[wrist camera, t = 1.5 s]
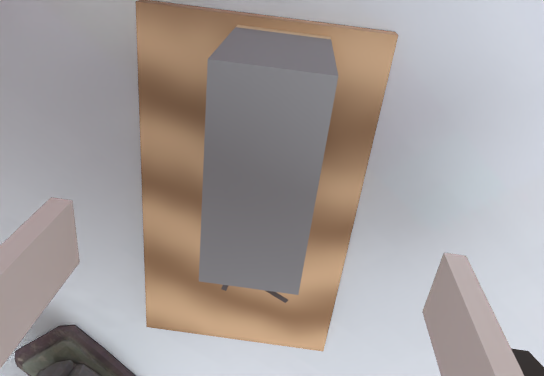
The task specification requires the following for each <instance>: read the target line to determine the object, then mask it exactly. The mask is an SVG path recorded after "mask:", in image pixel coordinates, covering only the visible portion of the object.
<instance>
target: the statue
mask: <svg viewBox="0 0 544 376" xmlns="http://www.w3.org/2000/svg"><path fill="white" fill-rule="evenodd" d="M15 362H16V364H17V367H19V368H20V369H21V370H23V371H24V372H25V373H27V374H28V375H29V376H135V375H134V374H133V373H132V372H130V371H129V370H128V369H127V368H126V367H125V366H124V365H122V364H121V363H120V362H119V361H118V360H117V359H116V358H114V357H113V356H112V355H111V354H110V353H109V352H108V351H107V350H105V349H104V348H103V347H102V346H100V345H99V344H98V343H97V342H95V341H94V340H93V339H91V338H90V337H89V336H88V335H86V334H85V333H84V332H83V331H81V330H80V329H79V328H77V327H76V326H75V325H71V326H59V327H57V328H55V329H53V330H52V331H50V332H48V333H46V334H45V335H43V336H41V337H39V338H38V339H36V340H34V341H32V342H31V343H29V344H27V345H25V346H24V347H22V348H20V349H18V350H17V351H15Z"/></svg>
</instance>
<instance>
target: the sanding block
mask: <svg viewBox="0 0 544 376" xmlns="http://www.w3.org/2000/svg"><path fill="white" fill-rule="evenodd" d="M337 81H338V71H337V66H336V61H335V56H334V51H333V46H332V41H331V37H330V36H322V35H314V34H307V33H299V32H291V31H283V30H276V29H268V28H260V27H252V26H245V25H237V26H236V27H235V28H234V29H233V30H232V32H231V33H230V34H229V35H228V36H227V37H226V39H225V40H224V41H223V42H222V43H221V44H220V45H219V47H218V48H217V49H216V50H215V51H214V52H213V53H212V55H211V56H210V57H209V58H208V65H207V89H206V114H205V138H204V163H203V187H202V212H201V237H200V261H199V281H200V282H207V283H214V284H221V285H229V286H236V287H243V288H251V289H258V290H265V291H273V292H280V293H287V294H295V295H298V294H299V289H300V283H301V278H302V272H303V267H304V261H305V256H306V251H307V245H308V240H309V234H310V229H311V223H312V218H313V212H314V207H315V201H316V196H317V190H318V185H319V180H320V174H321V169H322V163H323V158H324V152H325V147H326V141H327V136H328V130H329V125H330V120H331V114H332V109H333V103H334V98H335V92H336V87H337Z"/></svg>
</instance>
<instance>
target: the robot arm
mask: <svg viewBox="0 0 544 376" xmlns="http://www.w3.org/2000/svg"><path fill="white" fill-rule="evenodd" d="M78 264H79V253H78V245H77V236H76V227H75V219H74V210H73V201H72V200H67V199H59V198H52V197H51V198H50V199H49V200H48V201H47V202H46V203H45V204H44V205H42V206H41V207H40V208H39V209H38V210H37V211H36V212H35V213H34V214H33V215H32V216H31V217H30V218H29V219H28V220H27V221H26V222H25V223H24V224H22V225H21V226H20V227H19V228H18V229H17V230H16V231H15V232H14V233H13V234H12V235H11V236H10V237H9V238H8V239H7V240H6V241H5V242H4V243H2V244H1V245H0V368H1V367H2V366H3V364H4V363H5V362H6V360H7V359H8V358H9V356H10V355H11V354H12V352H13V351H14V350H15V348H16V347H17V345H18V344H19V343H20V341H21V340H22V339H23V337H24V336H25V335H26V333H27V332H28V331H29V329H30V328H31V327H32V325H33V324H34V323H35V321H36V320H37V319H38V317H39V316H40V315H41V313H42V312H43V311H44V309H45V308H46V307H47V305H48V304H49V303H50V301H51V300H52V299H53V297H54V296H55V295H56V293H57V292H58V291H59V289H60V288H61V287H62V285H63V284H64V283H65V281H66V280H67V279H68V277H69V276H70V274H71V273H72V272H73V270H74V269H75V268H76V266H77V265H78ZM423 315H424V319H425V322H426V325H427V329H428V332H429V336H430V339H431V343H432V346H433V349H434V353H435V356H436V360H437V363H438V367H439V370H440V373H441V376H544V367H543V366H542V365H541V364H540V363H539V362H538V361H537V360H536V359H535V358H534V357H533V355H532V354H531V353H530V352H529V351H524V350H517V349H511V347H510V345H509V343H508V341H507V339H506V337H505V335H504V333H503V331H502V329H501V327H500V325H499V323H498V321H497V319H496V317H495V315H494V312H493V310H492V308H491V306H490V304H489V302H488V300H487V298H486V296H485V294H484V292H483V290H482V288H481V286H480V284H479V282H478V279H477V277H476V275H475V273H474V271H473V269H472V267H471V265H470V263H469V261H468V259H467V257H466V256H464V255H457V254H450V253H444V254H443V256H442V259H441V262H440V265H439V267H438V270H437V273H436V276H435V279H434V281H433V284H432V287H431V290H430V292H429V295H428V298H427V301H426V303H425V306H424V309H423Z"/></svg>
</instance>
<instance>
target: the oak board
mask: <svg viewBox="0 0 544 376" xmlns="http://www.w3.org/2000/svg"><path fill="white" fill-rule="evenodd" d="M237 25H245V26H252V27H260V28H268V29H276V30H283V31H291V32H299V33H307V34H314V35H322V36H330V37H331V41H332V46H333V51H334V56H335V61H336V66H337V71H338V81H337V87H336V92H335V98H334V103H333V109H332V114H331V120H330V125H329V130H328V136H327V141H326V147H325V152H324V158H323V163H322V169H321V174H320V180H319V185H318V190H317V196H316V201H315V207H314V212H313V218H312V223H311V229H310V234H309V240H308V245H307V251H306V256H305V261H304V267H303V272H302V278H301V283H300V289H299V294H298V295H295V294H287V293H280V292H273V291H265V290H258V289H251V288H243V287H236V286H229V285H221V284H214V283H207V282H200V281H199V261H200V237H201V212H202V187H203V163H204V138H205V114H206V89H207V65H208V58H209V57H210V56H211V55H212V53H213V52H214V51H215V50H216V49H217V48H218V47H219V45H220V44H221V43H222V42H223V41H224V40H225V39H226V37H227V36H228V35H229V34H230V33H231V32H232V30H233V29H234V28H235V27H236V26H237ZM136 26H137V55H138V85H139V114H140V144H141V174H142V203H143V233H144V262H145V292H146V321H147V327H151V328H159V329H166V330H173V331H180V332H187V333H195V334H202V335H209V336H216V337H224V338H231V339H238V340H245V341H253V342H260V343H267V344H274V345H281V346H289V347H296V348H303V349H310V350H318V351H323V350H324V346H325V341H326V337H327V333H328V329H329V325H330V320H331V316H332V312H333V308H334V304H335V299H336V295H337V291H338V287H339V283H340V278H341V274H342V270H343V266H344V261H345V257H346V253H347V249H348V245H349V240H350V236H351V232H352V228H353V224H354V219H355V215H356V211H357V207H358V202H359V198H360V194H361V190H362V186H363V181H364V177H365V173H366V169H367V165H368V160H369V156H370V152H371V148H372V144H373V139H374V135H375V131H376V127H377V122H378V118H379V114H380V110H381V106H382V101H383V97H384V93H385V89H386V85H387V80H388V76H389V72H390V68H391V63H392V59H393V55H394V51H395V47H396V42H397V38H398V35H397V33H396V32H391V31H384V30H376V29H368V28H360V27H353V26H345V25H337V24H329V23H322V22H314V21H306V20H298V19H291V18H283V17H275V16H267V15H260V14H252V13H244V12H236V11H228V10H221V9H213V8H205V7H197V6H190V5H182V4H174V3H166V2H159V1H151V0H139V1H136Z"/></svg>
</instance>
